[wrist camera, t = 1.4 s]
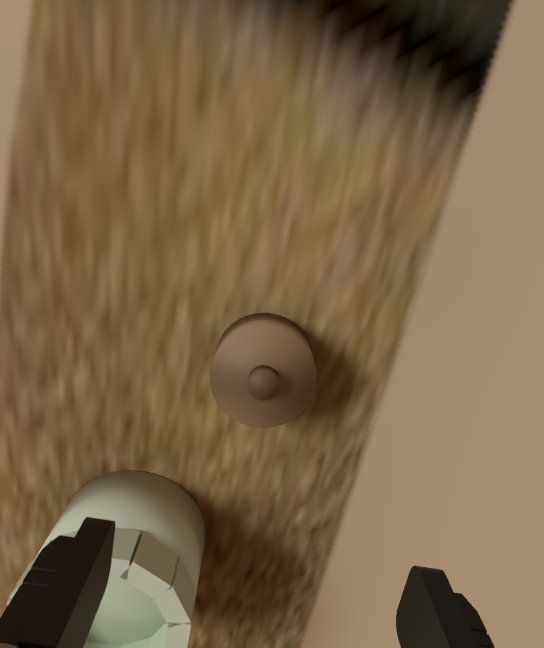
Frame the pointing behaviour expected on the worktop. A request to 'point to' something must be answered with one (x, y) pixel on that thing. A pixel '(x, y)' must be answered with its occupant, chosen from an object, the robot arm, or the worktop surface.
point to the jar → (141, 558)
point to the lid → (263, 371)
